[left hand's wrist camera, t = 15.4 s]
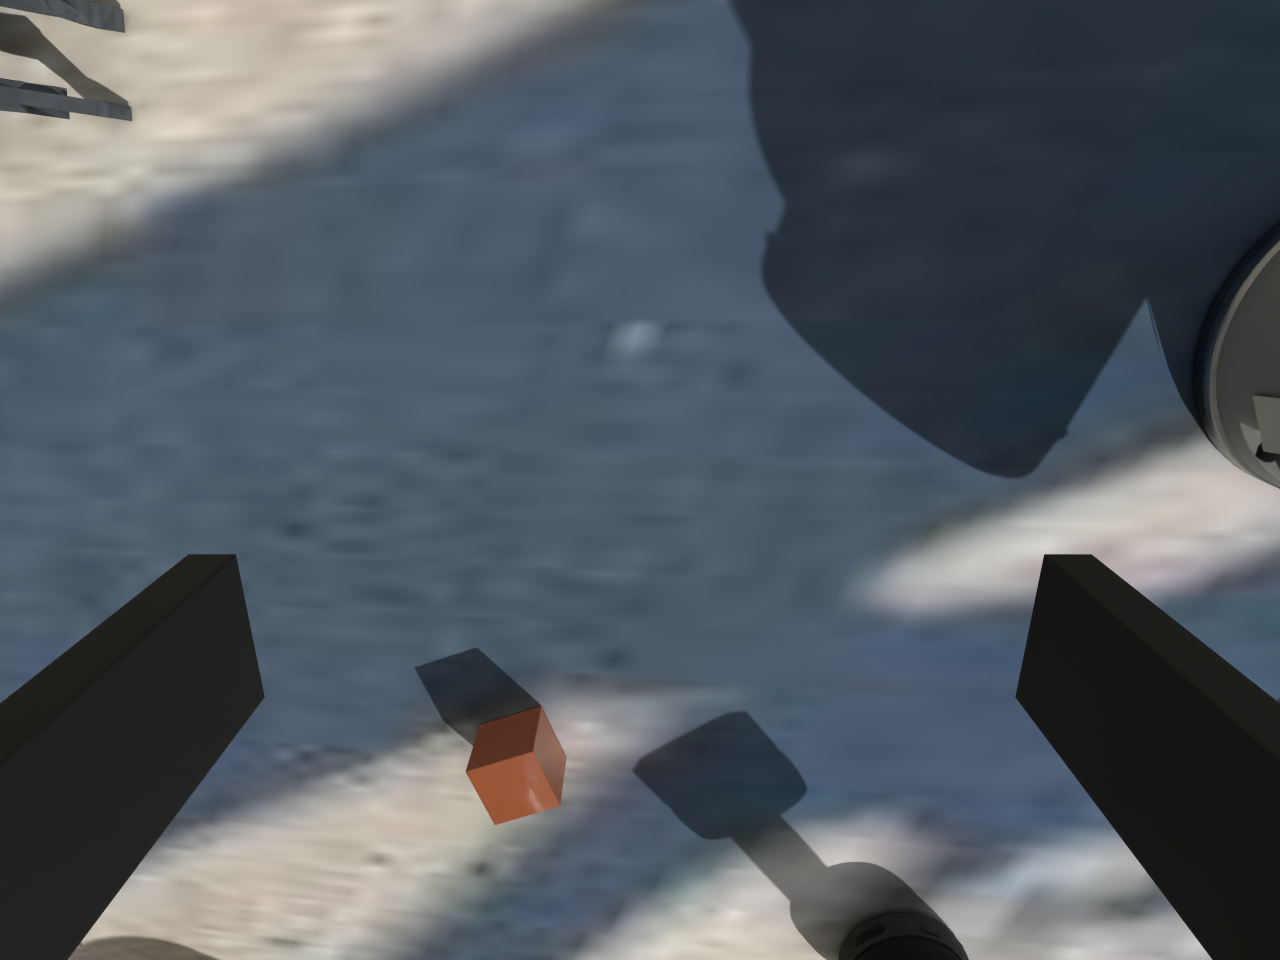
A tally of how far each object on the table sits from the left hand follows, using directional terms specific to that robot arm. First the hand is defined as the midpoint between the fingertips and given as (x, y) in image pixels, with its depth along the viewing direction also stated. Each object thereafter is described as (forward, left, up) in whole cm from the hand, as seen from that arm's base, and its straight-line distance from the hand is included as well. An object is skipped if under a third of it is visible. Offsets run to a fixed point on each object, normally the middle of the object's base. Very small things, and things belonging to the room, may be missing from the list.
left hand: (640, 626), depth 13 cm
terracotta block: (+7, +24, -27) cm, 37 cm away
